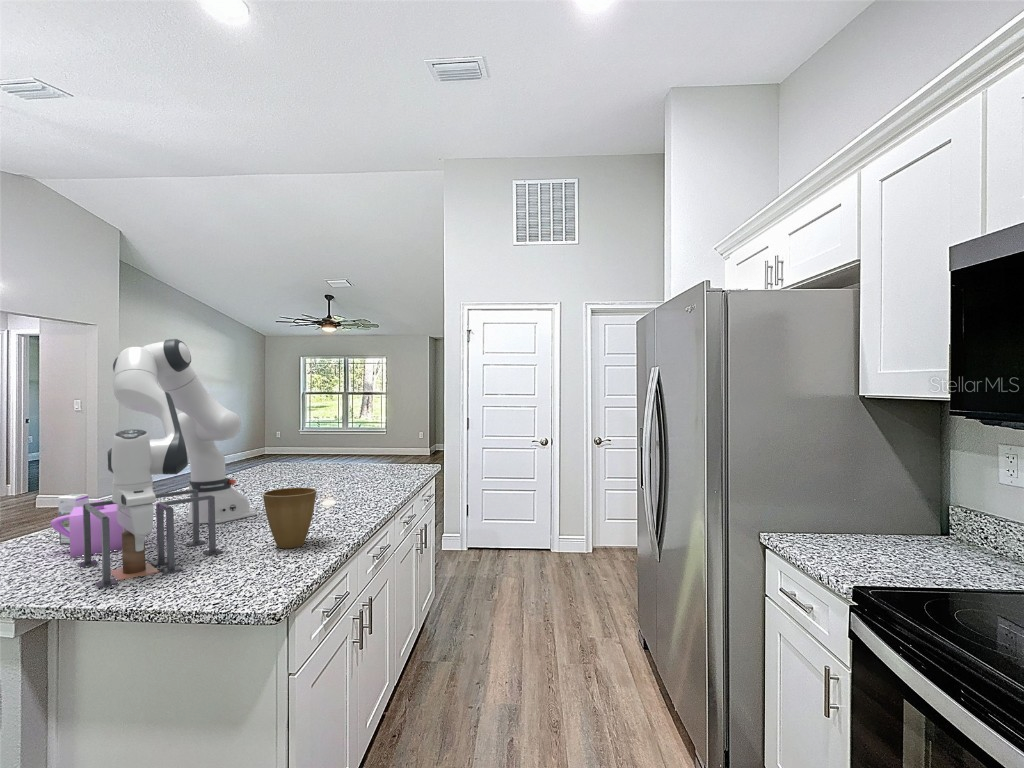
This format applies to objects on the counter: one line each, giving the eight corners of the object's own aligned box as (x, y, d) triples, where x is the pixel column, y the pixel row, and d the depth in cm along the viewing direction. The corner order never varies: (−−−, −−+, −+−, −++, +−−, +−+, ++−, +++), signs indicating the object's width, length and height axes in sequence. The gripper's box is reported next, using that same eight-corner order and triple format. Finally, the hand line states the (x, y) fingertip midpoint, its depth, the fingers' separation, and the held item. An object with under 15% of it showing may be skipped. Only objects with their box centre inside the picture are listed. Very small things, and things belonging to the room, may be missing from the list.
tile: (148, 564, 161) (148, 562, 161) (159, 572, 153) (159, 570, 153) (108, 572, 154) (108, 570, 154) (117, 581, 147) (117, 579, 147)
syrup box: (91, 539, 188) (90, 493, 188) (75, 544, 182) (74, 497, 182) (74, 539, 188) (73, 493, 188) (58, 544, 182) (57, 497, 182)
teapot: (153, 546, 179) (152, 499, 179) (48, 561, 165) (47, 510, 165) (152, 535, 192) (151, 491, 191) (54, 548, 178) (52, 501, 178)
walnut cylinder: (120, 571, 154) (119, 532, 154) (142, 566, 157) (141, 528, 157) (125, 575, 150) (124, 535, 150) (147, 570, 154) (146, 531, 154)
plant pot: (314, 550, 171) (313, 494, 171) (259, 554, 168) (258, 497, 168) (320, 536, 186) (319, 485, 186) (269, 540, 183) (268, 488, 183)
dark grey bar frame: (201, 541, 183) (200, 487, 183) (234, 559, 164) (232, 499, 163) (77, 565, 161) (75, 504, 161) (98, 589, 142) (96, 519, 142)
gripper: (109, 490, 159) (110, 542, 159) (128, 500, 144) (130, 557, 145) (136, 486, 163) (137, 537, 164) (157, 496, 149) (159, 551, 149)
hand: (134, 546), depth 154 cm, fingers open, 8 cm apart
